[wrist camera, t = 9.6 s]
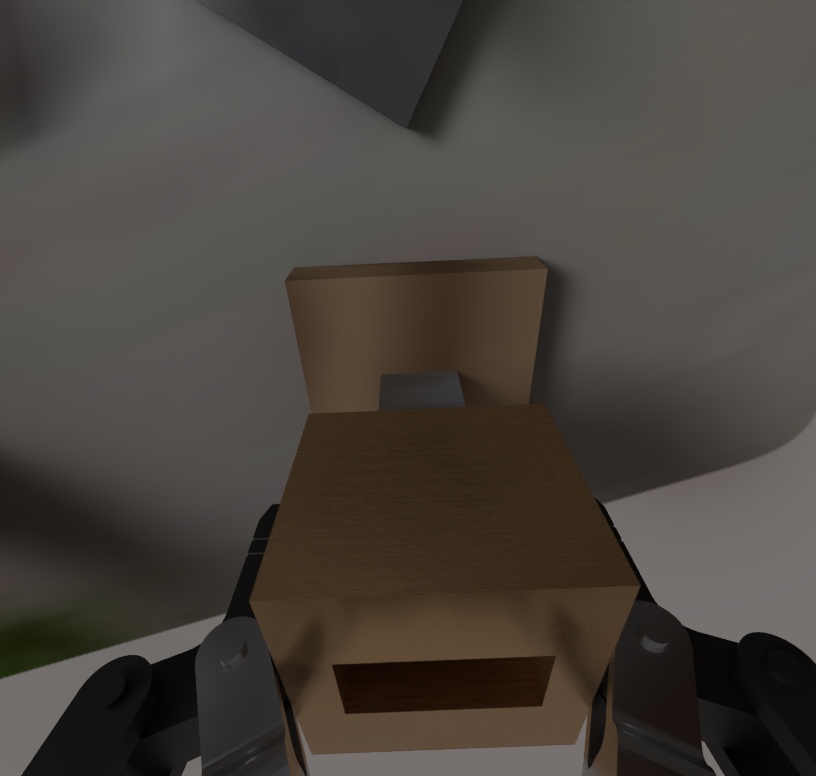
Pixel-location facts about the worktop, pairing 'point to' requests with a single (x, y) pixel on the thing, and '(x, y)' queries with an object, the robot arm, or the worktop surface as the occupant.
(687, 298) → the worktop surface
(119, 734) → the robot arm
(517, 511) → the brown slotted box
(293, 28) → the charcoal stand
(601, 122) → the worktop surface
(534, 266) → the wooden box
